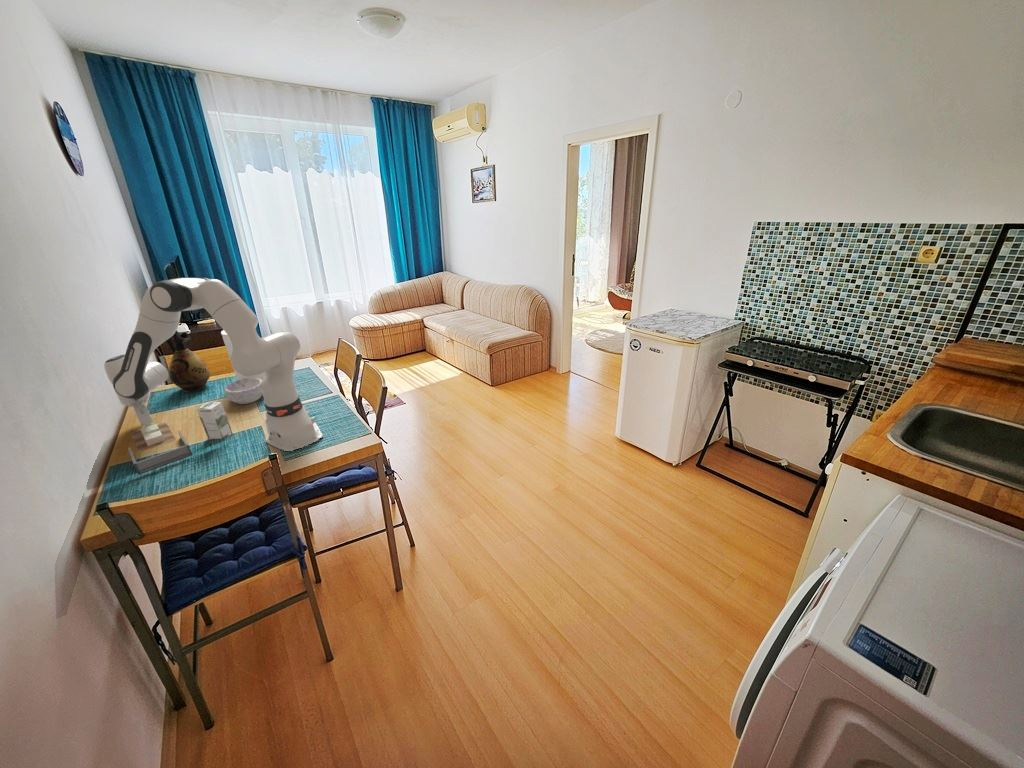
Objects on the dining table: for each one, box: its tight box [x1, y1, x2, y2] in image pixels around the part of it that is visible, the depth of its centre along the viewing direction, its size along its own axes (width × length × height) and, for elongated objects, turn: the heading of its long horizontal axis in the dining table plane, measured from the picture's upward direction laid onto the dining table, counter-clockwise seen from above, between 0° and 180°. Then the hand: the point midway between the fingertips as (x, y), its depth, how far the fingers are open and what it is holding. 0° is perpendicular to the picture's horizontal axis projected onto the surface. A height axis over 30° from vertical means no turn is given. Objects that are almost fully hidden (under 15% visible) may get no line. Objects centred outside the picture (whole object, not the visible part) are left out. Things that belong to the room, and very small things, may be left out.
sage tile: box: [140, 423, 160, 436], centre depth 158 cm, size 5×5×2 cm
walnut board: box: [130, 422, 177, 453], centre depth 157 cm, size 20×11×2 cm, turn 47°
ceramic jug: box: [165, 329, 211, 393], centre depth 194 cm, size 17×15×30 cm
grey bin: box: [127, 430, 194, 476], centre depth 146 cm, size 15×15×4 cm
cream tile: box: [144, 431, 165, 446], centre depth 153 cm, size 5×5×2 cm
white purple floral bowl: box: [224, 378, 263, 405], centre depth 186 cm, size 15×15×8 cm
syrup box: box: [196, 401, 233, 440], centre depth 154 cm, size 6×6×14 cm
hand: (148, 426), depth 162 cm, fingers closed
